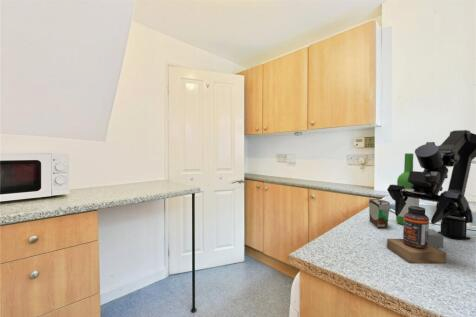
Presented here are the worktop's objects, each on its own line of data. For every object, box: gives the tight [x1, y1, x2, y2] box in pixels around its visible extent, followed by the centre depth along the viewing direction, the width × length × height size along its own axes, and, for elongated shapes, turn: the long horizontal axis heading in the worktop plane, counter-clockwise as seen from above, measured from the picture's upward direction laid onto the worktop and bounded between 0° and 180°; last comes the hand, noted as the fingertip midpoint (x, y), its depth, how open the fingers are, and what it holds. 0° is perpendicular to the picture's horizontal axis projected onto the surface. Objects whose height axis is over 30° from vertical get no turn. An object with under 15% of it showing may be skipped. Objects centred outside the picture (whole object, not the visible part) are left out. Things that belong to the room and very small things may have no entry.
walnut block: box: [386, 238, 447, 264], centre depth 70 cm, size 10×10×3 cm
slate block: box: [428, 228, 444, 249], centre depth 80 cm, size 7×7×4 cm
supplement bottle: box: [402, 206, 430, 248], centre depth 70 cm, size 6×6×11 cm
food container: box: [368, 198, 392, 230], centre depth 98 cm, size 12×6×10 cm, turn 168°
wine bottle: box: [395, 152, 420, 226], centre depth 99 cm, size 8×8×30 cm
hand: (413, 219), depth 69 cm, fingers open, 9 cm apart
